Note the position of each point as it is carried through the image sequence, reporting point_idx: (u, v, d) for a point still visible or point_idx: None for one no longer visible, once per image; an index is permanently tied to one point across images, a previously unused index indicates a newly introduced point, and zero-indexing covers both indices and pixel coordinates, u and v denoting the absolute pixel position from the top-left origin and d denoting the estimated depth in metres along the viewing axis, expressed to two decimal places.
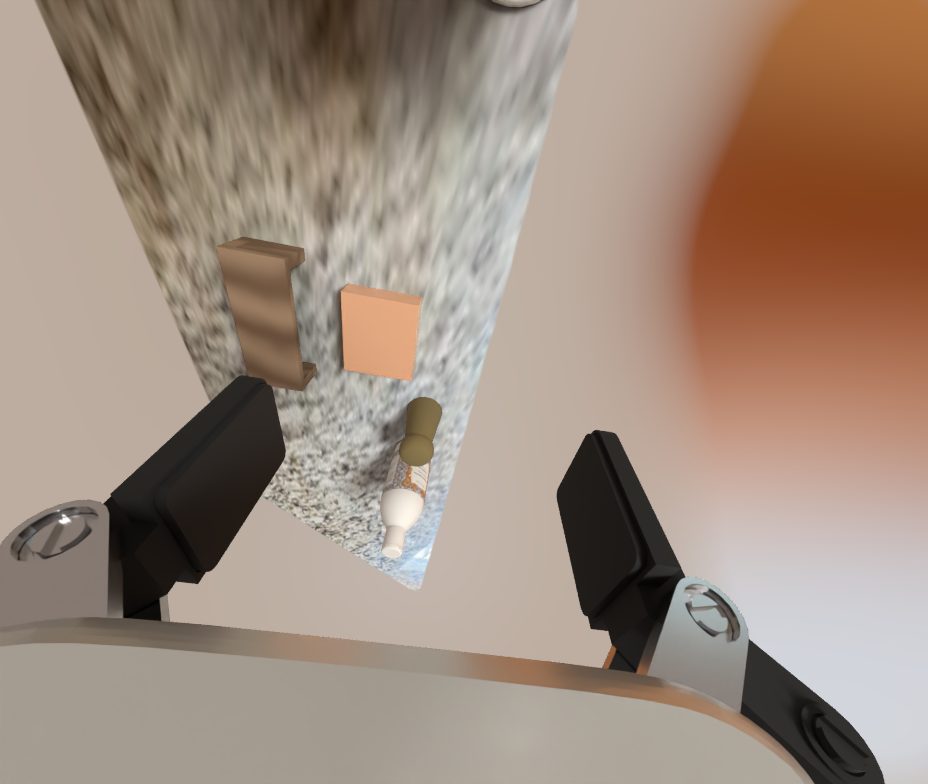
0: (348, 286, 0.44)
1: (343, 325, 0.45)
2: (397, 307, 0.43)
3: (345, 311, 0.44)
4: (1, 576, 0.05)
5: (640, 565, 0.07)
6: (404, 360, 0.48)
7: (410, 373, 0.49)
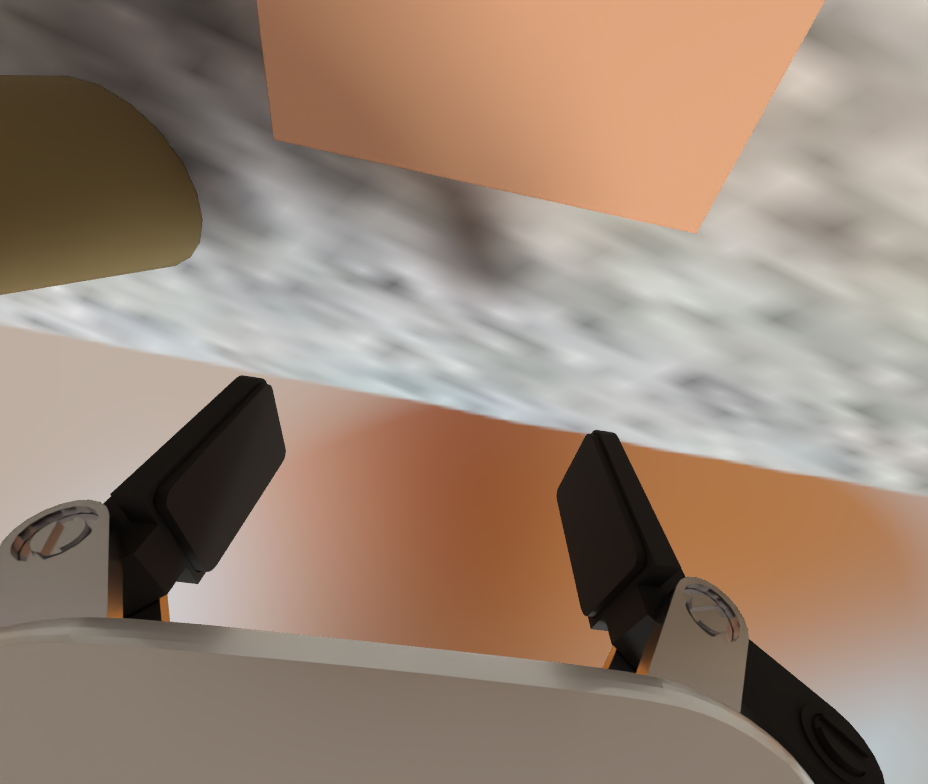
0: None
1: None
2: (734, 104, 0.08)
3: None
4: (1, 576, 0.05)
5: (640, 565, 0.07)
6: (403, 109, 0.08)
7: (322, 140, 0.09)
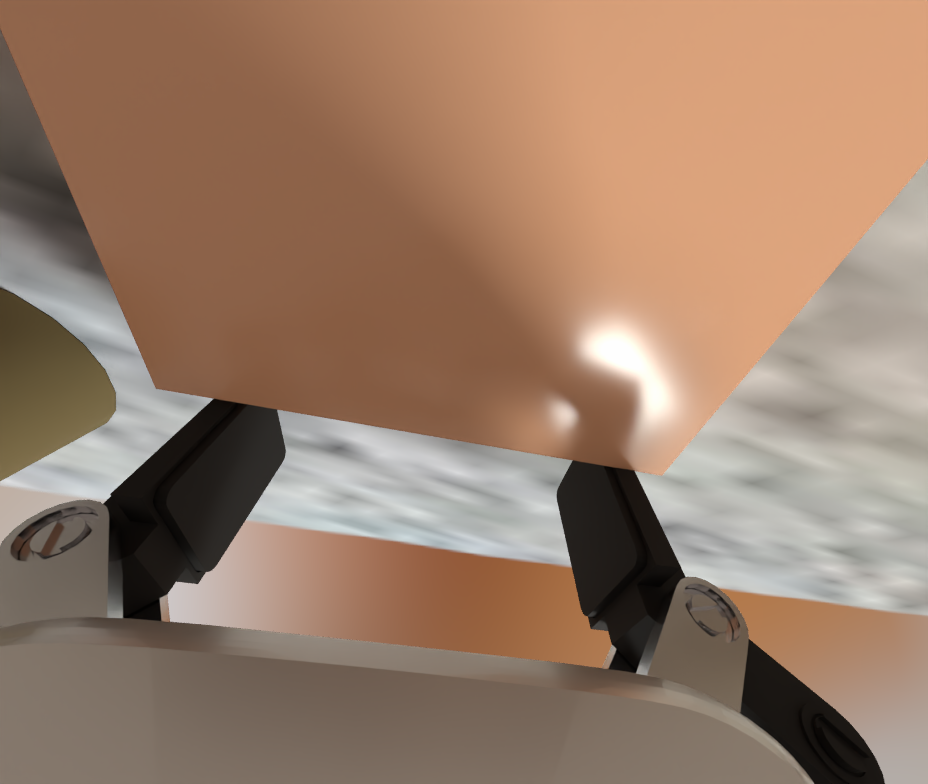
0: None
1: None
2: (700, 382, 0.07)
3: None
4: (1, 576, 0.05)
5: (640, 565, 0.07)
6: (309, 370, 0.07)
7: (216, 390, 0.07)
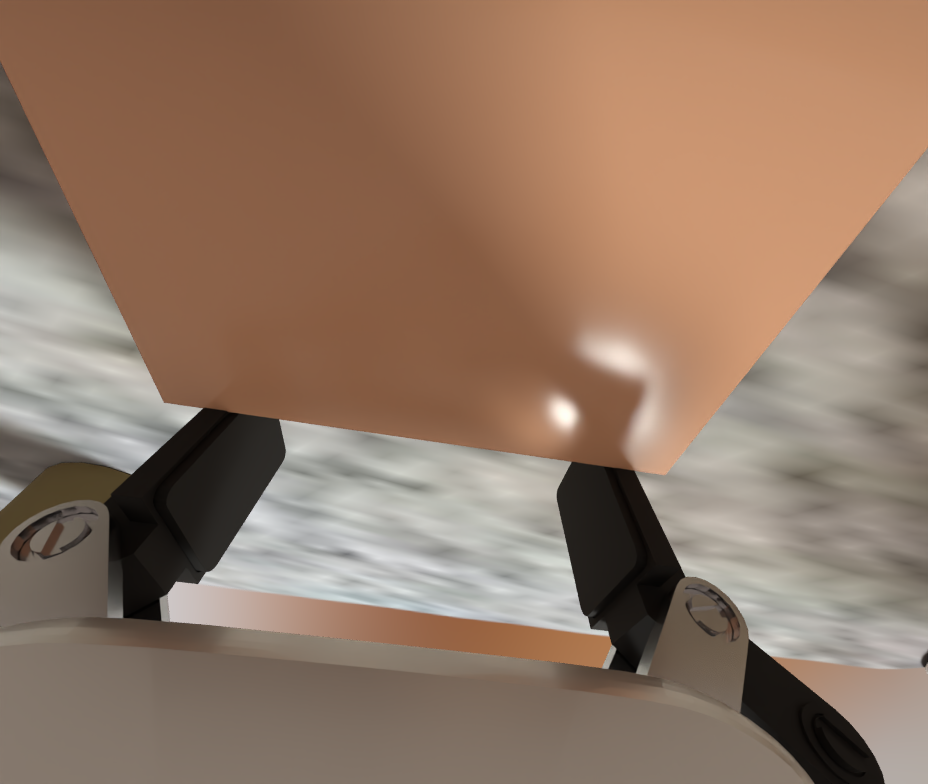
0: None
1: None
2: (699, 381, 0.07)
3: None
4: (1, 576, 0.05)
5: (640, 565, 0.07)
6: (311, 381, 0.07)
7: (221, 403, 0.07)
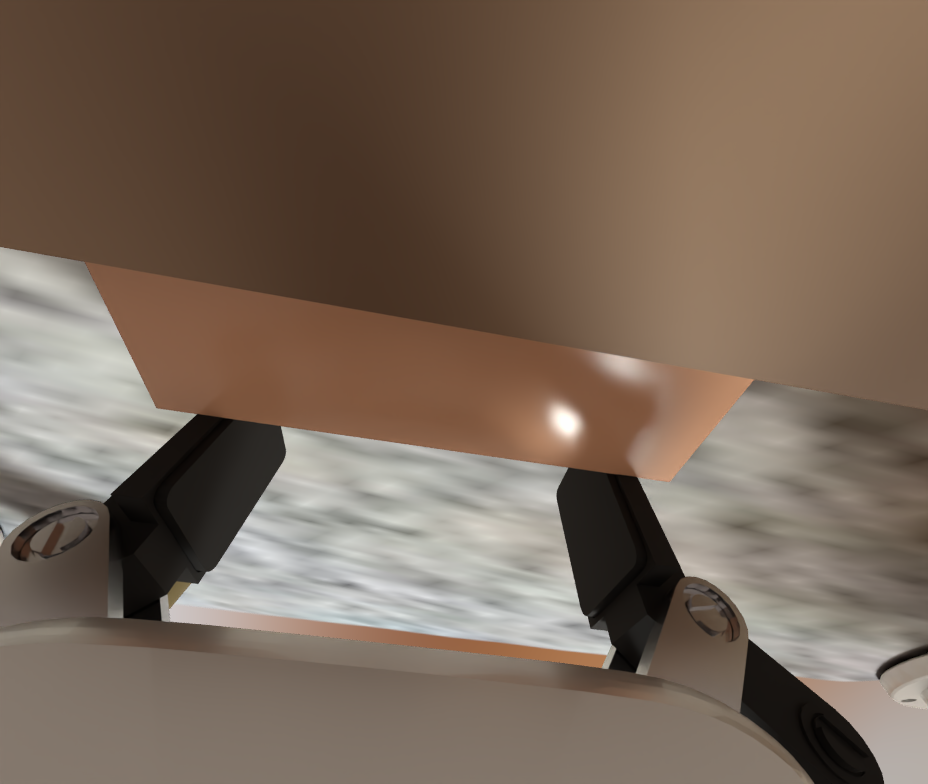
0: None
1: None
2: (706, 387, 0.06)
3: None
4: (2, 576, 0.05)
5: (640, 565, 0.07)
6: (308, 387, 0.07)
7: (216, 408, 0.07)
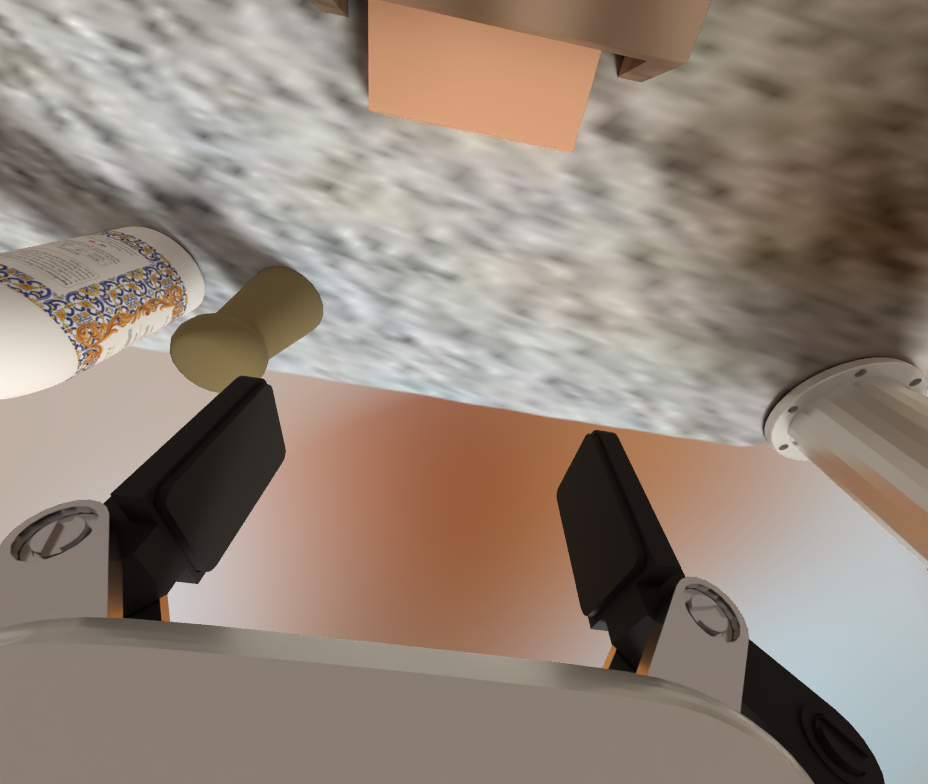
0: None
1: None
2: (576, 88, 0.18)
3: None
4: (2, 576, 0.05)
5: (640, 565, 0.07)
6: (430, 94, 0.18)
7: (392, 109, 0.19)
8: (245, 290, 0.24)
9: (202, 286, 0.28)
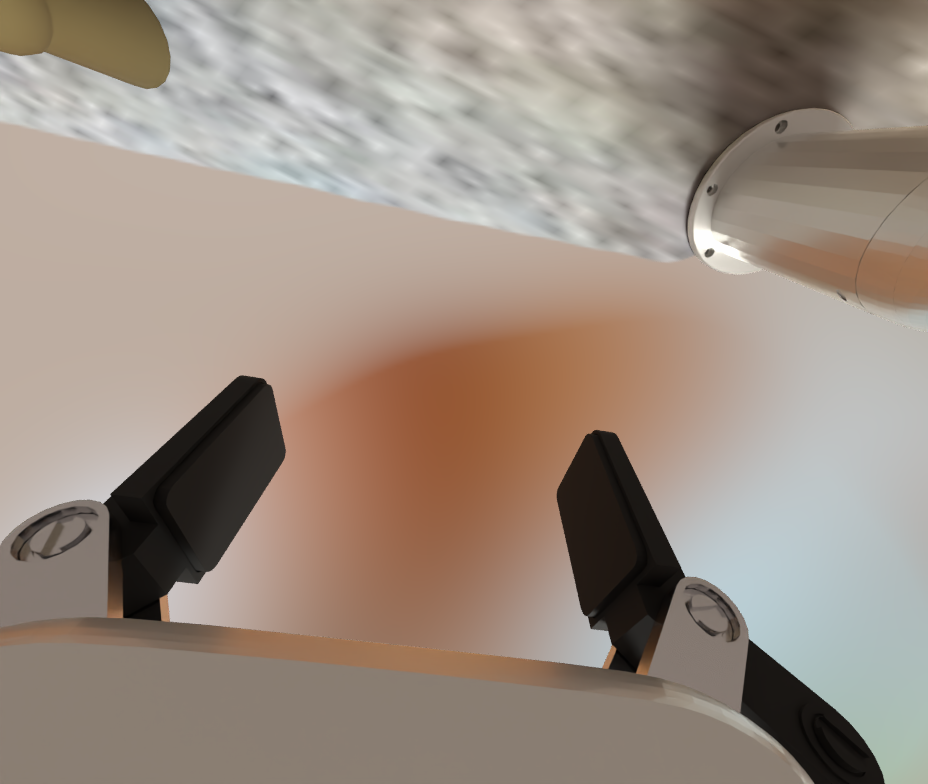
0: None
1: None
2: None
3: None
4: (1, 576, 0.05)
5: (640, 565, 0.07)
6: None
7: None
8: None
9: None
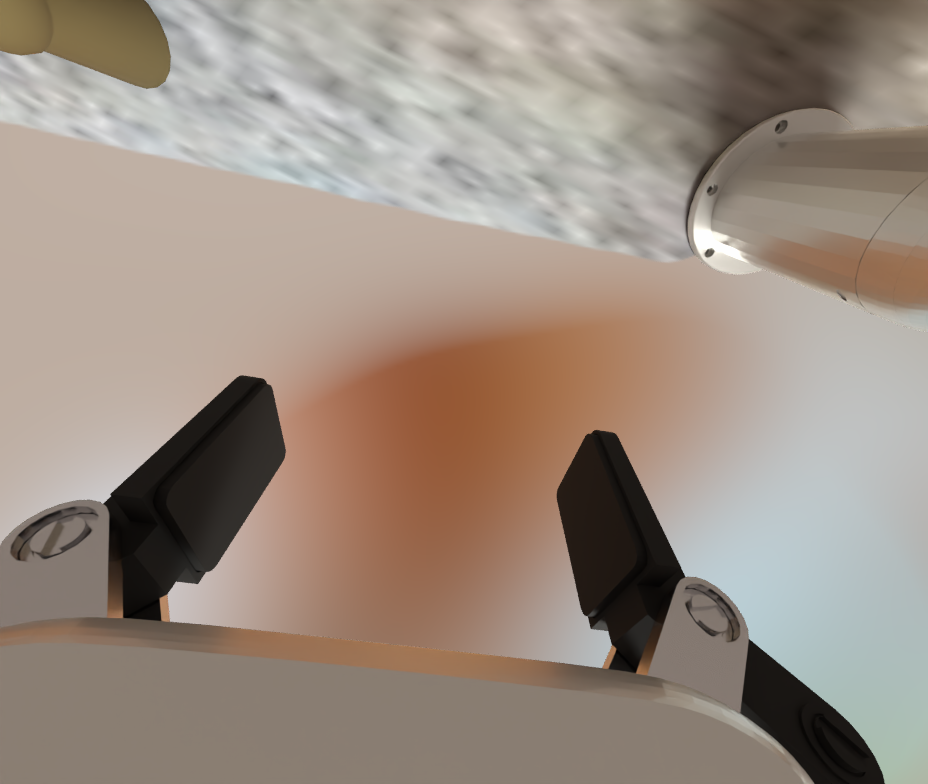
0: None
1: None
2: None
3: None
4: (2, 576, 0.05)
5: (640, 565, 0.07)
6: None
7: None
8: None
9: None
